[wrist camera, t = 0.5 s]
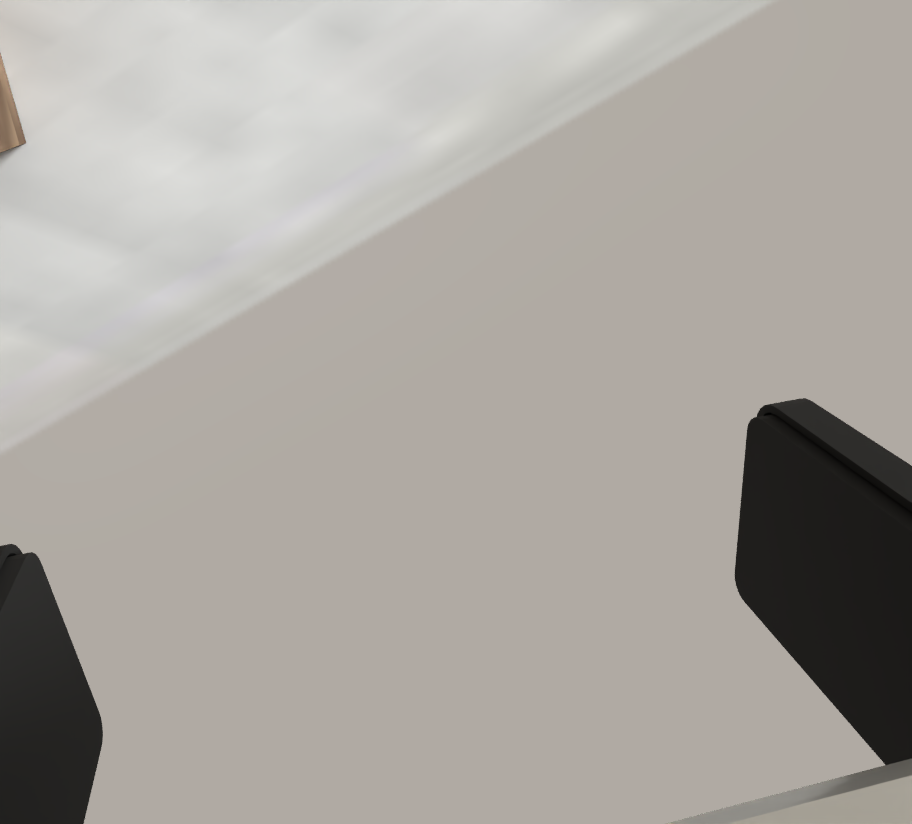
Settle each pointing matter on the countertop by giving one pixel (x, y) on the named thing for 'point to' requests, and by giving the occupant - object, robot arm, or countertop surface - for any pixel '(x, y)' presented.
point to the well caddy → (8, 115)
